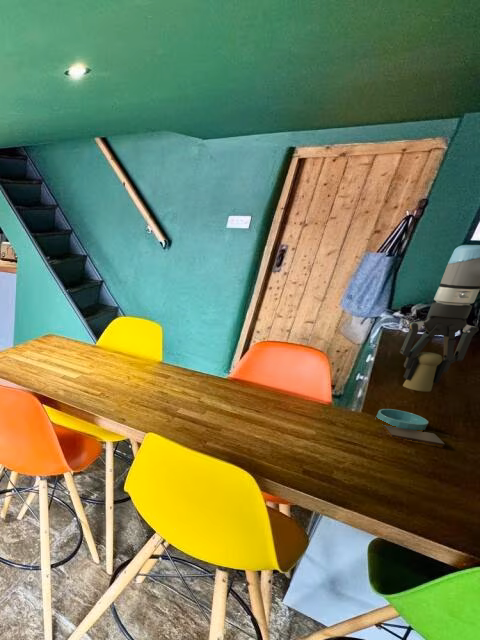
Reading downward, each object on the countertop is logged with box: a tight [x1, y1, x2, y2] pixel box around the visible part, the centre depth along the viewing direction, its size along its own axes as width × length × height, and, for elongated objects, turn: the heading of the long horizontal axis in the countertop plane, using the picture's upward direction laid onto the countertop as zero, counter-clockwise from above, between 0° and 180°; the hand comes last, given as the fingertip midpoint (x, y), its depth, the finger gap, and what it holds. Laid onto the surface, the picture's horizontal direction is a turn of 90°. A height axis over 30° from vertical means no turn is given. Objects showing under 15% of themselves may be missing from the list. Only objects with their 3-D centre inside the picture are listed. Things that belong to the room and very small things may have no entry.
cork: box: [402, 351, 444, 393], centre depth 120 cm, size 6×6×11 cm
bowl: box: [375, 408, 429, 431], centre depth 127 cm, size 11×11×3 cm
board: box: [383, 425, 445, 447], centre depth 119 cm, size 11×7×2 cm, turn 60°
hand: (420, 379), depth 121 cm, fingers closed on cork, 5 cm apart
